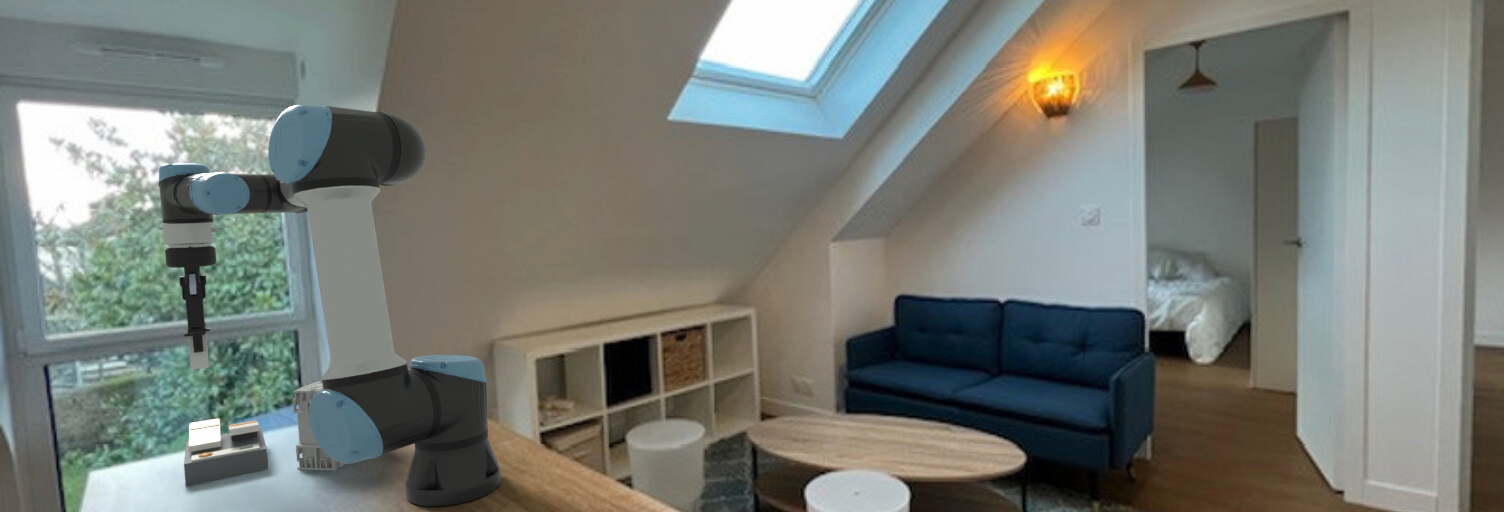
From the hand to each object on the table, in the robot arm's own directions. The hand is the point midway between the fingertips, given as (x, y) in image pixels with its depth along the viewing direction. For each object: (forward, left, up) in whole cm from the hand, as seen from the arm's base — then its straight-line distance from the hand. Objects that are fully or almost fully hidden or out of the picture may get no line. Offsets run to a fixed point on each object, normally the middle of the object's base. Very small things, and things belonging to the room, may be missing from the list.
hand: (200, 367), depth 135 cm
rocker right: (-4, -6, -12) cm, 14 cm away
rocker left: (-4, 0, -12) cm, 13 cm away
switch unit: (-6, -3, -18) cm, 19 cm away
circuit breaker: (-14, -21, -19) cm, 32 cm away
